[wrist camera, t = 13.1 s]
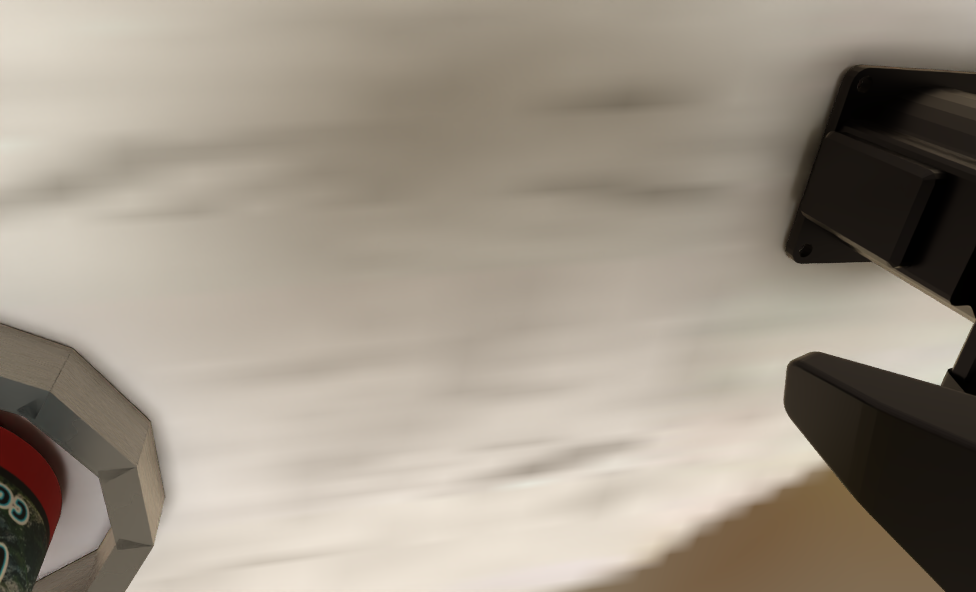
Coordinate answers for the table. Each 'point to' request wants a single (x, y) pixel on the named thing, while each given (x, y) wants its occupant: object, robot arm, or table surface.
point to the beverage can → (25, 512)
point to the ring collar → (89, 452)
